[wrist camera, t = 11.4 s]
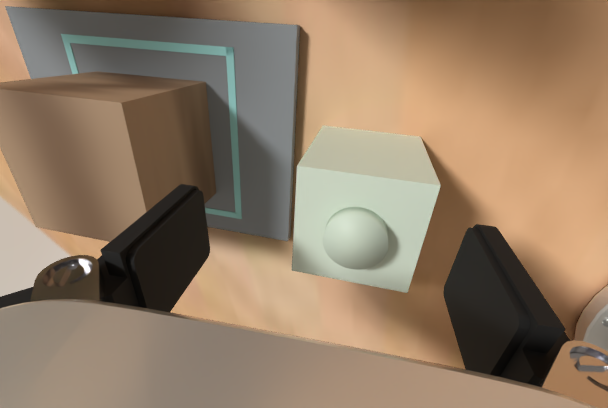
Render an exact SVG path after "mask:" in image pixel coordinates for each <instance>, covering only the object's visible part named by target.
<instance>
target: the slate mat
mask: <svg viewBox="0 0 608 408" xmlns="http://www.w3.org/2000/svg"><path fill="white" fill-rule="evenodd" d="M5 7H6V10H7V13H8V15H9V18H10V21H11V24H12V27H13V29H14V32H15V35H16V38H17V41H18V44H19V46H20V49H21V52H22V55H23V58H24V60H25V63H26V66H27V69H28V72H29V74H30V77H31V79H36V78H44V77H53V76H62V75H70V74H79V73H87V72H96V71H99V72H109V73H120V74H130V75H141V76H151V77H161V78H172V79H182V80H193V81H203V82H206V90H207V100H208V111H209V121H210V131H211V142H212V152H213V163H214V173H215V184H216V194H215V195H214V196H213V197H212V198H211V199H209V200H208V201H207V202H206V203H205V212H206V220H207V227H212V228H217V229H223V230H229V231H234V232H240V233H245V234H251V235H256V236H262V237H267V238H273V239H278V240H284V241H288V240H289V238H290V234H291V212H292V190H293V168H294V147H295V125H296V103H297V82H298V60H299V38H300V26H299V25H287V24H272V23H256V22H241V21H225V20H210V19H194V18H179V17H163V16H148V15H133V14H117V13H102V12H86V11H71V10H55V9H40V8H24V7H9V6H5Z"/></svg>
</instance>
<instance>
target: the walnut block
mask: <svg viewBox="0 0 608 408" xmlns="http://www.w3.org/2000/svg"><path fill="white" fill-rule="evenodd" d="M0 148H1V151H2V153H3V155H4V157H5V159H6V162H7V164H8V166H9V168H10V170H11V173H12V175H13V177H14V179H15V181H16V184H17V186H18V188H19V190H20V193H21V195H22V197H23V199H24V201H25V204H26V206H27V208H28V210H29V212H30V215H31V217H32V219H33V221H34V223H35V226H36V227H38V228H43V229H49V230H54V231H59V232H64V233H69V234H74V235H79V236H84V237H89V238H94V239H99V240H104V241H109V242H111V241H112V240H113V239H114V238H116V237H117V236H118V235H119V234H120V233H122V232H123V231H124V230H125V229H127V228H128V227H129V226H130V225H131V224H133V223H134V222H135V221H136V220H137V219H139V218H140V217H141V216H142V215H144V214H145V213H146V212H147V211H148V210H150V209H151V208H152V207H153V206H154V205H156V204H157V203H158V202H159V201H161V200H162V199H163V198H164V197H165V196H167V195H168V194H169V193H170V192H171V191H173V190H174V189H175V188H176V187H178V186H179V185H180V184H185V185H192V186H197V187H198V188H199V190H200V191H202V192H203V196H204V204H205V203H206V202H207V201H208V200H209V199H211V198H212V197H213V196H214V195H215V194H216V184H215V173H214V163H213V152H212V142H211V131H210V121H209V111H208V100H207V90H206V82H203V81H193V80H182V79H172V78H161V77H151V76H141V75H130V74H120V73H109V72H99V71H96V72H87V73H79V74H70V75H62V76H53V77H44V78H36V79H27V80H19V81H10V82H1V83H0Z"/></svg>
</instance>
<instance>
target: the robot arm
mask: <svg viewBox="0 0 608 408" xmlns="http://www.w3.org/2000/svg"><path fill="white" fill-rule="evenodd" d="M101 253H102V256H101V257H100V258H99V259H96V258H94V257H92V256H88V255H77V256H71V257H67V258H64V259H61V260H59V261H56V262H54V263H52V264H50V265H49V266H47V267H46V268H45V269H43V270H42V271H41V272H40V273H39V274H38V276H37V278H36V280H35V283H34V287H31V288H28V289H25V290H21V291H18V292H15V293H11V294H8V295H5V296H2V297H0V408H608V285H607V286H606V287H605V288H603V289H602V290H601V291H600V292H599V293H597V294H596V295H595V296H594V298H593V299H592V300H591V301H590V303H589V304H588V305H587V306H586V307H585V309H584V310H583V312H582V314H581V316H580V318H579V320H578V322H577V324H576V331H575V337H574V339H575V340H573V341H570V340H569V338H568V337H567V335H566V334H565V332H564V330H565V328H564V326H563V325H562V323H561V322H560V320H559V319H558V317H557V316H556V314H555V313H554V311H553V310H552V308H551V307H550V305H549V304H548V302H547V301H546V299H545V298H544V296H543V295H542V294H541V292H540V291H539V289H538V288H537V286H536V285H535V283H534V282H533V280H532V279H531V277H530V276H529V274H528V273H527V271H526V270H525V268H524V267H523V265H522V264H521V262H520V261H519V260H518V258H517V257H516V255H515V254H514V252H513V251H512V249H511V248H510V246H509V245H508V243H507V242H506V240H505V239H504V237H503V236H502V234H501V233H500V231H499V230H498V229H497V228H496V227H493V226H486V225H479V224H476V225H475V226H474V227H473V228H468V229H467V231H466V233H465V236H464V238H463V241H462V244H461V246H460V249H459V251H458V254H457V256H456V259H455V261H454V264H453V266H452V269H451V271H450V274H449V276H448V279H447V281H446V284H445V286H444V298H445V302H446V305H447V308H448V312H449V315H450V318H451V322H452V325H453V328H454V332H455V335H456V338H457V342H458V345H459V348H460V352H461V355H462V358H463V362H464V365H465V368H466V370H465V369H460V368H455V367H450V366H446V365H441V364H436V363H431V362H426V361H421V360H416V359H411V358H406V357H401V356H396V355H391V354H385V353H380V352H375V351H370V350H365V349H360V348H355V347H350V346H345V345H340V344H334V343H329V342H324V341H319V340H314V339H308V338H303V337H298V336H293V335H288V334H282V333H277V332H272V331H267V330H261V329H256V328H251V327H246V326H240V325H235V324H229V323H224V322H219V321H213V320H208V319H202V318H197V317H192V316H186V315H181V314H176V313H170V311H171V310H172V308H173V307H174V305H175V304H176V303H177V301H178V300H179V298H180V297H181V295H182V294H183V292H184V291H185V290H186V288H187V287H188V285H189V284H190V282H191V281H192V280H193V278H194V277H195V275H196V274H197V272H198V271H199V270H200V268H201V267H202V265H203V264H204V262H205V261H206V259H207V258H208V256H209V253H210V244H209V236H208V228H207V220H206V212H205V204H204V196H203V192H202V191H200V190H199V188H198V187H197V186H192V185H185V184H180V185H179V186H178V187H176V188H175V189H174V190H173V191H171V192H170V193H169V194H168V195H167V196H165V197H164V198H163V199H162V200H161V201H159V202H158V203H157V204H156V205H154V206H153V207H152V208H151V209H150V210H148V211H147V212H146V213H145V214H144V215H142V216H141V217H140V218H139V219H137V220H136V221H135V222H134V223H133V224H131V225H130V226H129V227H128V228H127V229H125V230H124V231H123V232H122V233H120V234H119V235H118V236H117V237H116V238H114V239H113V240H112V241H111V242H110V243H108V244H107V245H106V246H105V247H104V248H102V249H101Z"/></svg>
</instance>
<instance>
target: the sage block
mask: <svg viewBox="0 0 608 408" xmlns="http://www.w3.org/2000/svg"><path fill="white" fill-rule="evenodd" d="M440 187H441V185H440V182H439V180H438V178H437V175H436V173H435V170H434V168H433V166H432V163H431V161H430V158H429V156H428V154H427V151H426V149H425V146H424V144H423V142H422V139H421V137H420V136H411V135H403V134H394V133H385V132H377V131H368V130H359V129H350V128H342V127H333V126H324V125H323V126H322V128H321V129H320V131H319V132H318V134H317V136H316V137H315V139H314V140H313V142H312V143H311V145H310V146H309V148H308V150H307V151H306V153H305V154H304V156H303V157H302V159H301V160H300V162H299V163H298V165H297V176H296V196H295V216H294V236H293V256H292V271H297V272H303V273H308V274H313V275H318V276H323V277H328V278H333V279H338V280H344V281H349V282H354V283H359V284H364V285H369V286H374V287H380V288H385V289H390V290H395V291H400V292H405V293H408V290H409V286H410V283H411V280H412V277H413V273H414V270H415V267H416V264H417V261H418V257H419V254H420V251H421V248H422V245H423V241H424V238H425V235H426V232H427V228H428V225H429V222H430V219H431V216H432V212H433V209H434V206H435V203H436V199H437V196H438V193H439V190H440Z"/></svg>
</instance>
